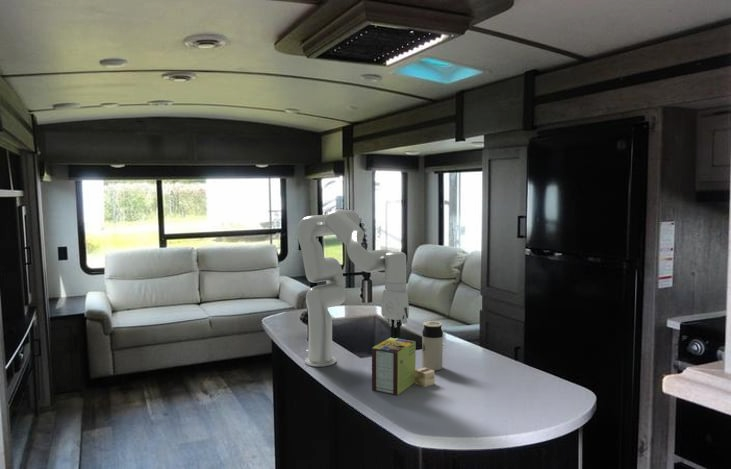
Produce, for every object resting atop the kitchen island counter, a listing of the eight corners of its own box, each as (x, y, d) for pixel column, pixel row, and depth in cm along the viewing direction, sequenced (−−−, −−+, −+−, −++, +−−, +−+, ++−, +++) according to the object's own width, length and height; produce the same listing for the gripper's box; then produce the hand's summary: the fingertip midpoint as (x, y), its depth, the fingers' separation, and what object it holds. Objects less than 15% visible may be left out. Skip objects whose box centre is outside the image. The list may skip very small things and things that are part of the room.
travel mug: (441, 365, 221) (442, 321, 220) (442, 371, 213) (443, 326, 212) (421, 364, 222) (422, 320, 221) (422, 370, 214) (422, 325, 213)
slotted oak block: (414, 383, 201) (415, 369, 200) (424, 380, 204) (424, 366, 204) (424, 387, 197) (425, 373, 197) (434, 384, 200) (434, 370, 200)
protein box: (415, 382, 202) (416, 340, 201) (397, 395, 189) (397, 351, 187) (390, 377, 207) (390, 336, 206) (370, 390, 194) (371, 347, 192)
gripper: (373, 285, 198) (373, 335, 200) (402, 291, 187) (402, 343, 188) (389, 282, 203) (389, 331, 204) (418, 288, 191) (417, 340, 193)
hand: (395, 337), depth 196 cm, fingers closed
